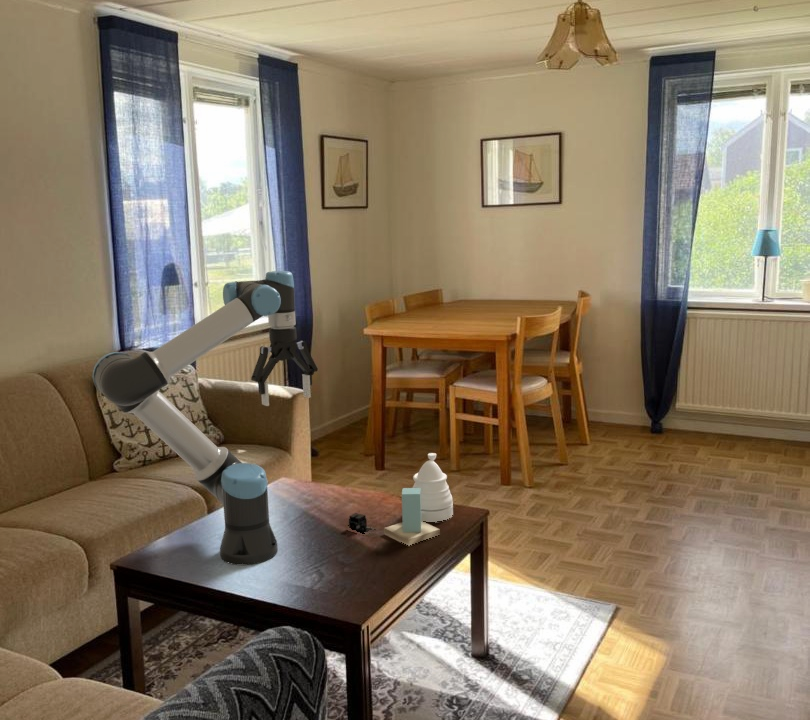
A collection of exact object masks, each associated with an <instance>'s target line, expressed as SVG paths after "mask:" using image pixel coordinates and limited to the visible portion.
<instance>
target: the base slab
mask: <svg viewBox="0 0 810 720" xmlns="http://www.w3.org/2000/svg"><path fill="white" fill-rule="evenodd" d="M440 530H441V529H440V528H438V527H436V526H433V525H432V524H430V523H426V522H423V521H421V532H403V524H402V522H399V523H396V524H392V525H389V526H386V527H383V531H384V532H383V533H384V535H385V536H387V537H389V538H391V539H393V540H395V541H397V542H398V543H401V542H402V543H401V544H403V543H404V544H403V545H405V544H406V545H405V546H407V545H408V546H407V547H411V546H413V545H412V544H414V545H416V544H415V543H417V544H419V543H418V542H420V541H423V540H426V539H428V540H430V539H429V538H431V539H433V538H432V537H434V538H436V537H435V536H437V537H439V536H438V535H440V536H441V531H440ZM426 541H427V540H426ZM423 542H424V541H423ZM420 543H421V542H420ZM410 545H411V546H410Z"/></svg>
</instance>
